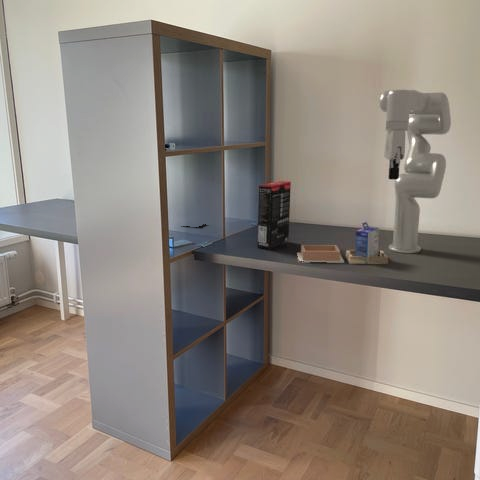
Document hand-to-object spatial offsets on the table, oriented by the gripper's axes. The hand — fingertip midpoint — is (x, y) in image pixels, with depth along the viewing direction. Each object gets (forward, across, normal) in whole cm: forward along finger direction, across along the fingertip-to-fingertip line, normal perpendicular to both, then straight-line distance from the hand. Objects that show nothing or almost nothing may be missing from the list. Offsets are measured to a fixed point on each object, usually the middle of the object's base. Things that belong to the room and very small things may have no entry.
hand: (393, 179), depth 177 cm
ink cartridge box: (+32, -5, -7) cm, 33 cm away
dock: (+32, -7, -24) cm, 41 cm away
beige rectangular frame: (+32, -5, -7) cm, 33 cm away
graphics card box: (+32, -28, -42) cm, 60 cm away
